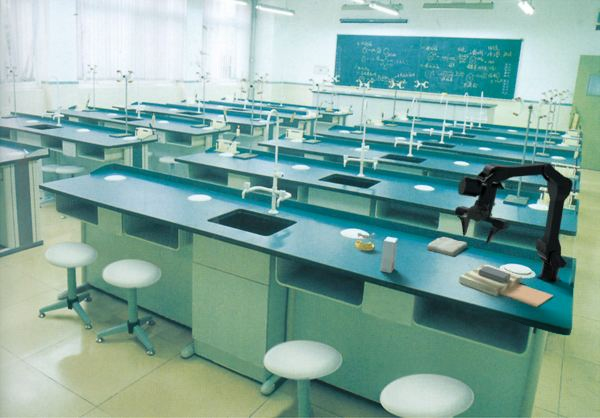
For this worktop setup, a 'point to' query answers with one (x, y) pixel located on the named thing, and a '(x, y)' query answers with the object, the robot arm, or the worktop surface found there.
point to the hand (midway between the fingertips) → (475, 239)
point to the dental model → (362, 245)
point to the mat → (526, 295)
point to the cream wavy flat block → (488, 281)
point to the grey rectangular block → (494, 274)
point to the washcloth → (446, 246)
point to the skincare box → (388, 254)
